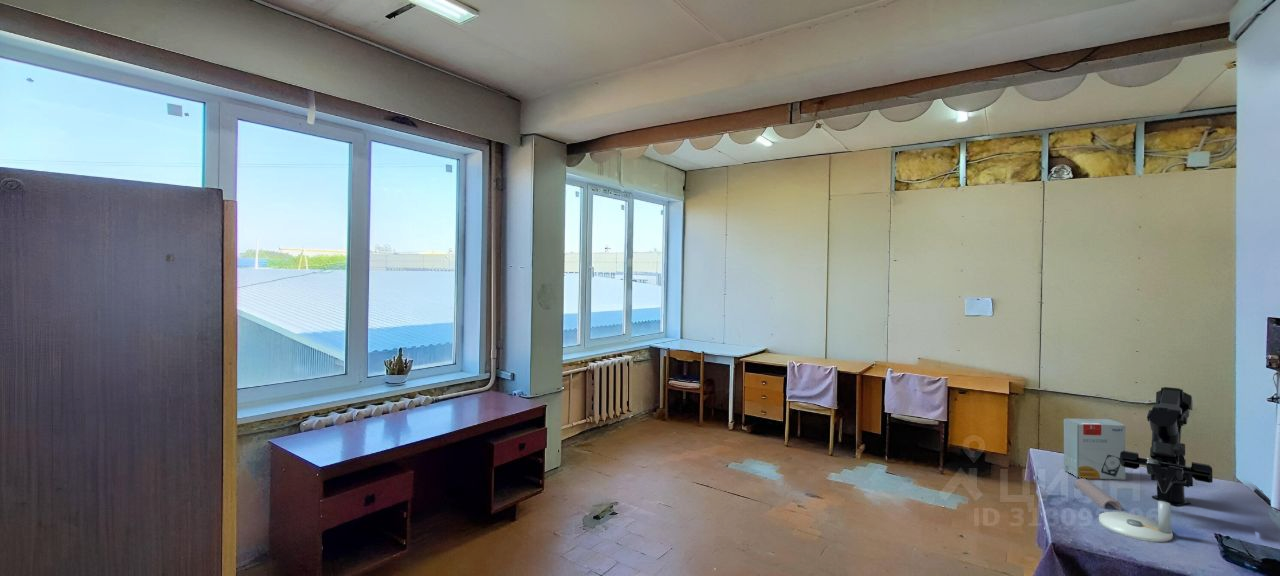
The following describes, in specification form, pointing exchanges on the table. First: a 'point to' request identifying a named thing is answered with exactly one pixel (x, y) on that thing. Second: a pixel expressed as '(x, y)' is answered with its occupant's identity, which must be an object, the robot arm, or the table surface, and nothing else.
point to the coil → (1096, 494)
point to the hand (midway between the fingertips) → (1163, 492)
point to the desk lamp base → (1140, 524)
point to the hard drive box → (1094, 448)
